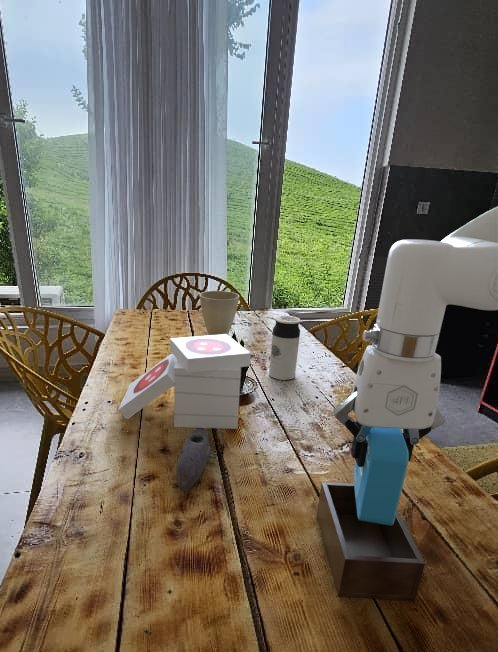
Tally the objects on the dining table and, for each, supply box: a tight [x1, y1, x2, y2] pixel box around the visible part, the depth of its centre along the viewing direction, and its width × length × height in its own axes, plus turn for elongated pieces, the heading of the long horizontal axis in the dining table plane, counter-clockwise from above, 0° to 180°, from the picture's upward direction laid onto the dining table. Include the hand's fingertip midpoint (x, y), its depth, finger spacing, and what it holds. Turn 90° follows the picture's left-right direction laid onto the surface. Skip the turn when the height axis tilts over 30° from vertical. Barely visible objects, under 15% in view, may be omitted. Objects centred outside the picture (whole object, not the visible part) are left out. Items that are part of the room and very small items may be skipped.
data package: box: [353, 427, 409, 526], centre depth 63 cm, size 12×4×12 cm, turn 168°
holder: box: [316, 481, 426, 602], centre depth 68 cm, size 11×17×7 cm, turn 178°
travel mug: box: [268, 315, 301, 381], centre depth 133 cm, size 8×8×18 cm
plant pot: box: [199, 290, 240, 335], centre depth 169 cm, size 15×15×16 cm
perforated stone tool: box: [175, 428, 211, 492], centre depth 85 cm, size 15×5×7 cm, turn 167°
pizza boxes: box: [117, 334, 252, 430], centre depth 107 cm, size 19×30×18 cm, turn 90°
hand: (379, 461), depth 63 cm, fingers closed on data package, 5 cm apart
